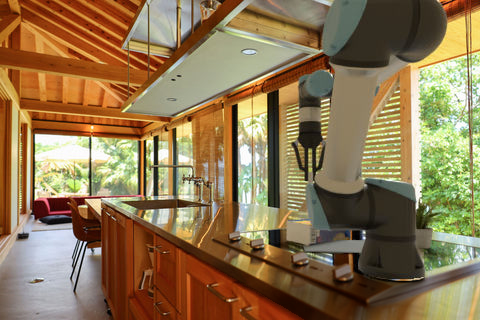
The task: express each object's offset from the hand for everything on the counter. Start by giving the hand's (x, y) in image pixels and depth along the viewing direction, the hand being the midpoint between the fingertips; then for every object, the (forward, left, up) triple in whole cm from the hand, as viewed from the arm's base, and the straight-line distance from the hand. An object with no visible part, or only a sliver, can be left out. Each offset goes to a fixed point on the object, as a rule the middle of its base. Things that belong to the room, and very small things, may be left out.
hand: (310, 191), depth 114 cm
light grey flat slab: (0, -9, -18) cm, 20 cm away
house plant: (+3, -36, -19) cm, 40 cm away
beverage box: (+2, +4, -14) cm, 15 cm away
